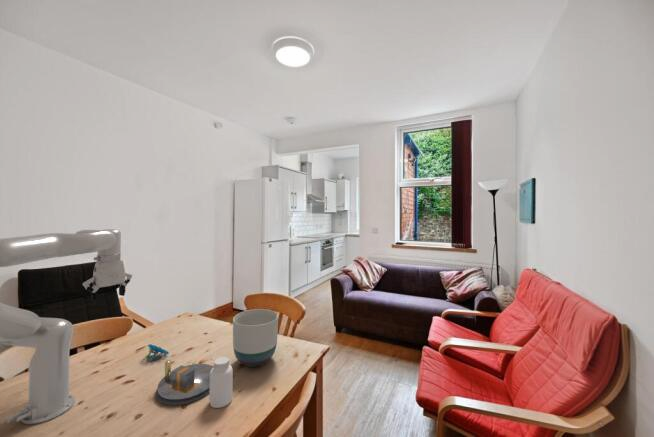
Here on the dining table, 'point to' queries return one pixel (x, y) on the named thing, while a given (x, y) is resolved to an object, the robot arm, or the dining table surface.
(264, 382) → the dining table surface
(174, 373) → the link block
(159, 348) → the blue green toy
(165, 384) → the turntable
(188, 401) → the base plate
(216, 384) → the pill bottle
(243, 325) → the planter
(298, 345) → the dining table surface
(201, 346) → the dining table surface
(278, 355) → the dining table surface
